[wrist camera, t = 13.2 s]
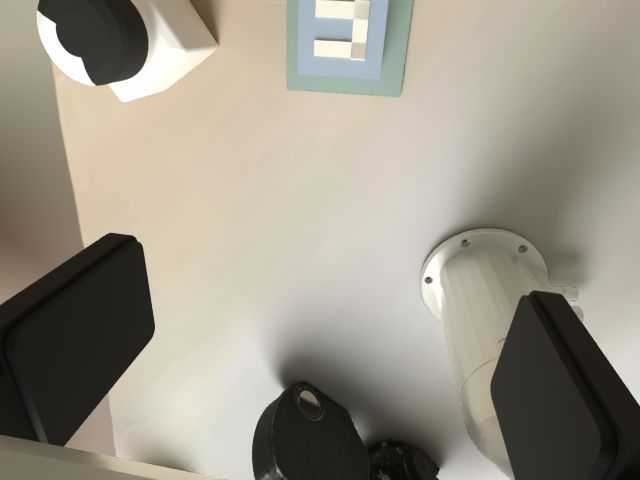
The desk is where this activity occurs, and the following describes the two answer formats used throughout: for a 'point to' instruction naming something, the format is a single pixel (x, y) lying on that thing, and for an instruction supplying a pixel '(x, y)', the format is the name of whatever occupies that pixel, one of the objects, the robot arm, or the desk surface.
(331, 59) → the letter cube
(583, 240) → the desk surface
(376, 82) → the pad
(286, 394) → the movie camera
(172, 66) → the medicine bottle
